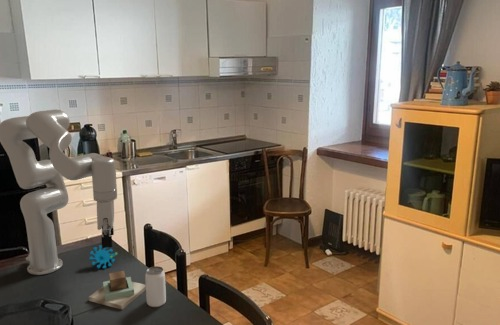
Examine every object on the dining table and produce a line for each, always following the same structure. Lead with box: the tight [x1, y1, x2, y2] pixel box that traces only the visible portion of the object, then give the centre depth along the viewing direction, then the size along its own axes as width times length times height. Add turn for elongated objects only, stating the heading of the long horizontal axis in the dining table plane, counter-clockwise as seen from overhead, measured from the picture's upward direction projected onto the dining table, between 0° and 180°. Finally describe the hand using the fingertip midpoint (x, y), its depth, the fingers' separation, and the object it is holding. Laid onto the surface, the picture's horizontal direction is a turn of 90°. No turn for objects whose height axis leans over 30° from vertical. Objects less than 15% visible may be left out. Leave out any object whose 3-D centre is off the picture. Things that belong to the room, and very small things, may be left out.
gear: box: [88, 244, 119, 270], centre depth 167 cm, size 11×6×10 cm
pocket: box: [102, 276, 134, 301], centre depth 145 cm, size 10×10×2 cm
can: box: [144, 265, 167, 308], centre depth 139 cm, size 6×6×12 cm
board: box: [88, 281, 146, 310], centre depth 145 cm, size 14×14×2 cm
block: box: [108, 270, 127, 292], centre depth 144 cm, size 5×5×6 cm
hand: (108, 240), depth 143 cm, fingers open, 9 cm apart
